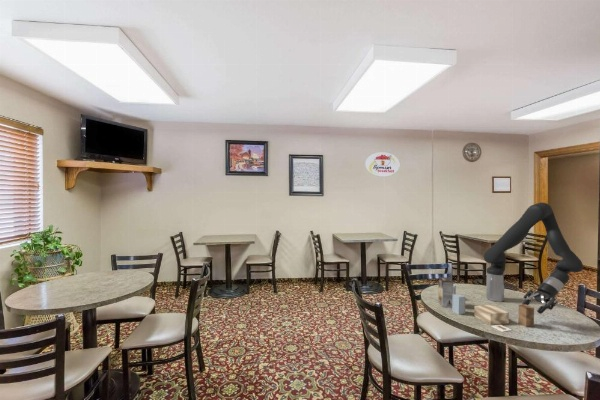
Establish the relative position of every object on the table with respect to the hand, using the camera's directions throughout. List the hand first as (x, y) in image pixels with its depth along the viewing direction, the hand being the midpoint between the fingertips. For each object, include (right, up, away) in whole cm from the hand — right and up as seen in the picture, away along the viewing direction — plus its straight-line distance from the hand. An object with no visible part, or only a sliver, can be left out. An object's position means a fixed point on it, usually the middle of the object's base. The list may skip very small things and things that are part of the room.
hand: (530, 309), depth 148 cm
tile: (-19, -8, -5) cm, 21 cm away
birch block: (-17, -8, +6) cm, 20 cm away
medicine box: (-23, -8, +40) cm, 47 cm away
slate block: (-30, -8, +15) cm, 34 cm away
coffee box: (-31, -8, +27) cm, 42 cm away
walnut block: (-3, -8, 0) cm, 9 cm away
